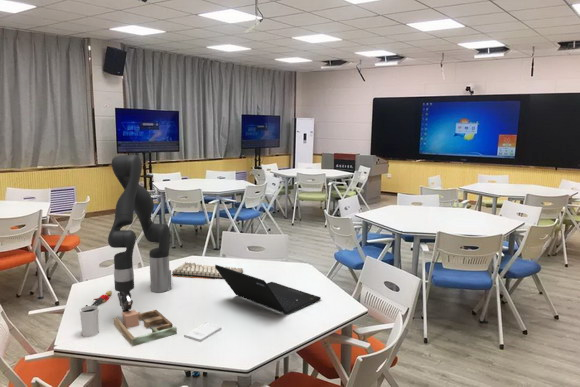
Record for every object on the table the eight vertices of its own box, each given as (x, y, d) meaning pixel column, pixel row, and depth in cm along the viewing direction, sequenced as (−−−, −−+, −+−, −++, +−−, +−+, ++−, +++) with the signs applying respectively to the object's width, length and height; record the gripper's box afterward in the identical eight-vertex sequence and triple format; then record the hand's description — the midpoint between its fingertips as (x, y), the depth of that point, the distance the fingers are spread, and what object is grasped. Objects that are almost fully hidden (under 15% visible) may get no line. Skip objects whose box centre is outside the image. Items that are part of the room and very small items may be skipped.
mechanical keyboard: (245, 271, 250) (245, 265, 250) (235, 282, 231) (235, 276, 231) (183, 267, 257) (182, 261, 256) (168, 277, 238) (168, 271, 238)
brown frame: (154, 313, 189) (154, 308, 189) (176, 333, 171) (176, 327, 171) (113, 324, 179) (113, 318, 179) (132, 346, 161) (132, 339, 160)
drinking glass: (87, 329, 174) (85, 305, 173) (103, 329, 174) (101, 305, 172) (77, 336, 168) (75, 311, 166) (94, 337, 167) (92, 312, 166)
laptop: (321, 301, 206) (322, 261, 203) (264, 326, 179) (264, 281, 176) (271, 284, 228) (271, 247, 226) (213, 304, 201) (213, 263, 198)
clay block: (134, 320, 182) (134, 309, 181) (138, 325, 178) (138, 313, 177) (122, 324, 179) (122, 312, 178) (126, 328, 175) (125, 316, 174)
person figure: (85, 300, 193) (106, 286, 210) (83, 308, 193) (104, 293, 211) (95, 304, 192) (116, 290, 210) (93, 312, 193) (114, 297, 211)
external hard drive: (221, 330, 175) (200, 343, 165) (205, 326, 179) (184, 338, 169) (221, 326, 175) (200, 339, 164) (205, 322, 179) (183, 334, 168)
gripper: (138, 280, 177) (140, 321, 179) (128, 272, 187) (130, 310, 190) (119, 284, 172) (121, 326, 175) (110, 275, 183) (112, 314, 185)
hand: (125, 317), depth 182 cm, fingers closed
